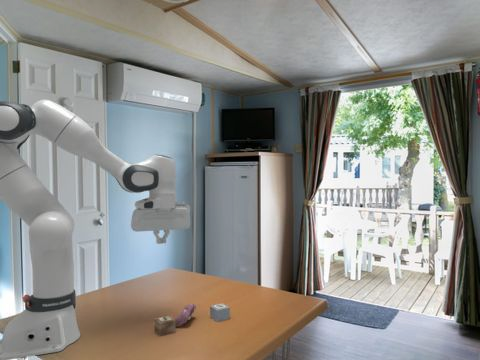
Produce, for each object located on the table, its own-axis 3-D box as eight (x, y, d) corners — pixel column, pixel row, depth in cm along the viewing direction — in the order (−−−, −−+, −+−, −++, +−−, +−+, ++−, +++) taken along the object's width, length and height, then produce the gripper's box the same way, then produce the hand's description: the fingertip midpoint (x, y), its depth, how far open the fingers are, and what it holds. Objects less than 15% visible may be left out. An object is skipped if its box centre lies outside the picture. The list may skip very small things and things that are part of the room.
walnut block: (160, 336, 114) (159, 322, 113) (154, 330, 118) (154, 317, 118) (175, 333, 116) (175, 319, 116) (169, 327, 120) (169, 314, 120)
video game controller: (182, 333, 119) (191, 314, 119) (169, 325, 120) (179, 307, 119) (191, 321, 129) (200, 303, 128) (180, 314, 130) (188, 297, 129)
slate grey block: (217, 322, 124) (217, 309, 124) (210, 317, 129) (210, 305, 129) (229, 319, 127) (229, 306, 127) (222, 314, 131) (222, 302, 131)
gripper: (186, 201, 134) (185, 239, 134) (130, 202, 123) (129, 243, 123) (194, 203, 129) (192, 242, 129) (135, 203, 118) (134, 247, 118)
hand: (161, 243), depth 126 cm, fingers closed
